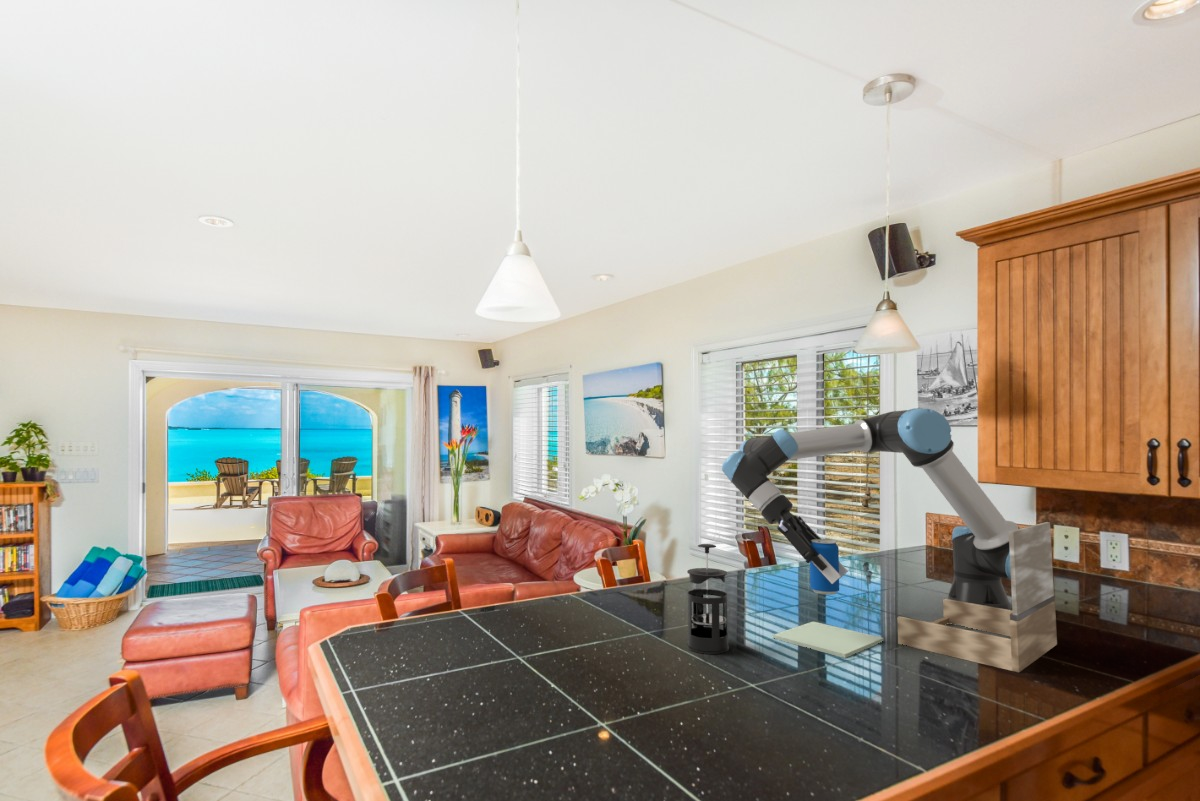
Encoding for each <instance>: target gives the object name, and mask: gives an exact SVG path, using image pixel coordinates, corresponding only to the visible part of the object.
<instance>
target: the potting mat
mask: <svg viewBox="0 0 1200 801" xmlns="http://www.w3.org/2000/svg"><path fill="white" fill-rule="evenodd" d="M773 638H775V639H774V640H777V639H779V640H778V641H781V640H782V641H781V642H784V641H785V643H788V642H789V644H792V645H795V644H796V645H797V646H800V647H803V648H806V647H807V648H806V649H810V648H811V650H814V651H818V652H822V653H826V654H829V655H832V656H836V657H839V658H844V659H846V658H848V657H850V656H853V655H855V653H856V654H858V653H860V652H862V651H865V650H867V649H869V648H872V647H873V646H876V645H879V644H880V642H881V643H883V642H884V637H882V636H881V637H880V636H876V635H872V634H869V633H863V632H860V631H855V630H852V629H847V628H842V627H838V626H834V625H829V624H825V623H822V622H818V621H810V622H807V623H805V624H801V625H799V626H795V627H792V628H789V629H787V630H783V631H781V632H777V633H774V634H772V639H773ZM882 641H883V642H882ZM878 643H879V644H878ZM871 646H872V647H871ZM864 649H865V650H864Z"/></svg>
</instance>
